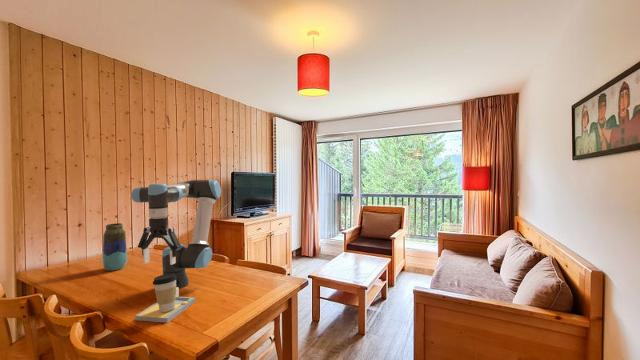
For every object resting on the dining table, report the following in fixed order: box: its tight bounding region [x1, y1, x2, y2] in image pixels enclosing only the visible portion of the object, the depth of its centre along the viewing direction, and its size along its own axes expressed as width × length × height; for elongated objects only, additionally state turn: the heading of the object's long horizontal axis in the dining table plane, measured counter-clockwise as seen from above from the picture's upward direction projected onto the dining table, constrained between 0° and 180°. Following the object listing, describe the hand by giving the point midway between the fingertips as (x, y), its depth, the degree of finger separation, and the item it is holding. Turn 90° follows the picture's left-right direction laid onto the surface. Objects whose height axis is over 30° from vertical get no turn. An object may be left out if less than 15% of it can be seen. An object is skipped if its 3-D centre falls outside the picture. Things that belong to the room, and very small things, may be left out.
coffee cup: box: [152, 273, 177, 312], centre depth 125 cm, size 10×10×15 cm
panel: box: [134, 296, 197, 324], centre depth 129 cm, size 16×20×2 cm
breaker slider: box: [176, 287, 180, 298], centre depth 137 cm, size 4×4×5 cm
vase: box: [101, 222, 128, 272], centre depth 189 cm, size 14×14×31 cm
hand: (159, 263), depth 125 cm, fingers open, 13 cm apart
